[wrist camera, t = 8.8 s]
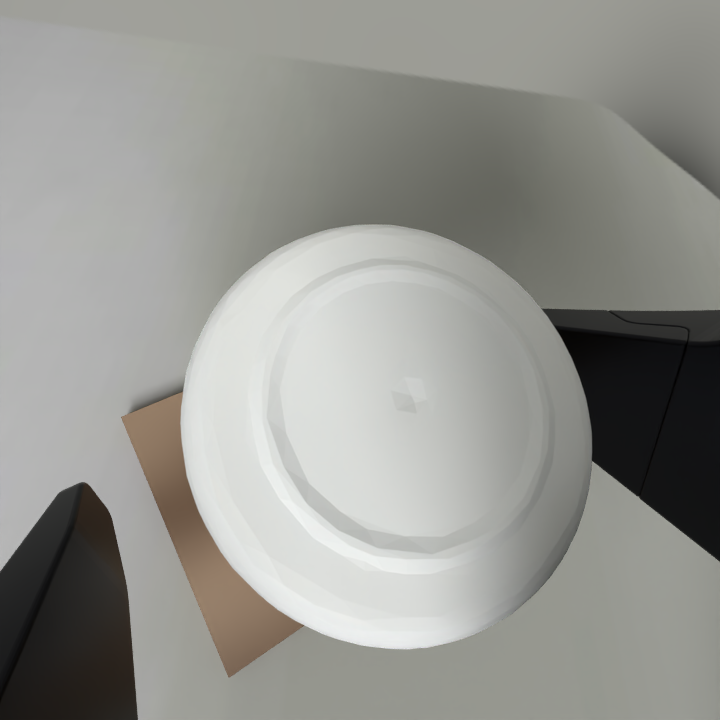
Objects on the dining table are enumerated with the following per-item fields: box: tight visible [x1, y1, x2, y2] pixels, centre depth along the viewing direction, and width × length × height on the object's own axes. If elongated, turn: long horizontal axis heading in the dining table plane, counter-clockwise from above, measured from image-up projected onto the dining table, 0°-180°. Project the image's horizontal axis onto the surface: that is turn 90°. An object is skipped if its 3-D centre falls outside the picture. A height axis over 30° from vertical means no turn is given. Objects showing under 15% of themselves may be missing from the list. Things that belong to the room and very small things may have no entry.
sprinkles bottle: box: [180, 224, 592, 649], centre depth 10 cm, size 5×5×13 cm
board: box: [121, 392, 304, 677], centre depth 17 cm, size 10×10×1 cm
